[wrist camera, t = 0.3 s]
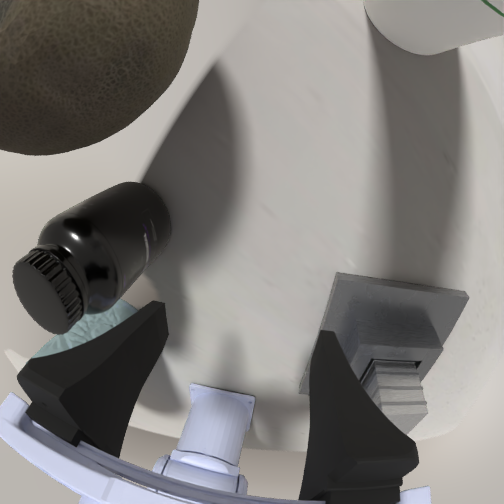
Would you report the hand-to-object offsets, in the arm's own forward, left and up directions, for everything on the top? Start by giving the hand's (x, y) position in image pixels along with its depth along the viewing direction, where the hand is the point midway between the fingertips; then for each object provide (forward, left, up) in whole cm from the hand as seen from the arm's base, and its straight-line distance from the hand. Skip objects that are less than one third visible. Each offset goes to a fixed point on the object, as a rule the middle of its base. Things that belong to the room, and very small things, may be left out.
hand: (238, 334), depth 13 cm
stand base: (-9, -12, -10) cm, 18 cm away
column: (-9, -12, -9) cm, 18 cm away
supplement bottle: (0, +11, -10) cm, 15 cm away
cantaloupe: (+14, +11, -10) cm, 21 cm away
